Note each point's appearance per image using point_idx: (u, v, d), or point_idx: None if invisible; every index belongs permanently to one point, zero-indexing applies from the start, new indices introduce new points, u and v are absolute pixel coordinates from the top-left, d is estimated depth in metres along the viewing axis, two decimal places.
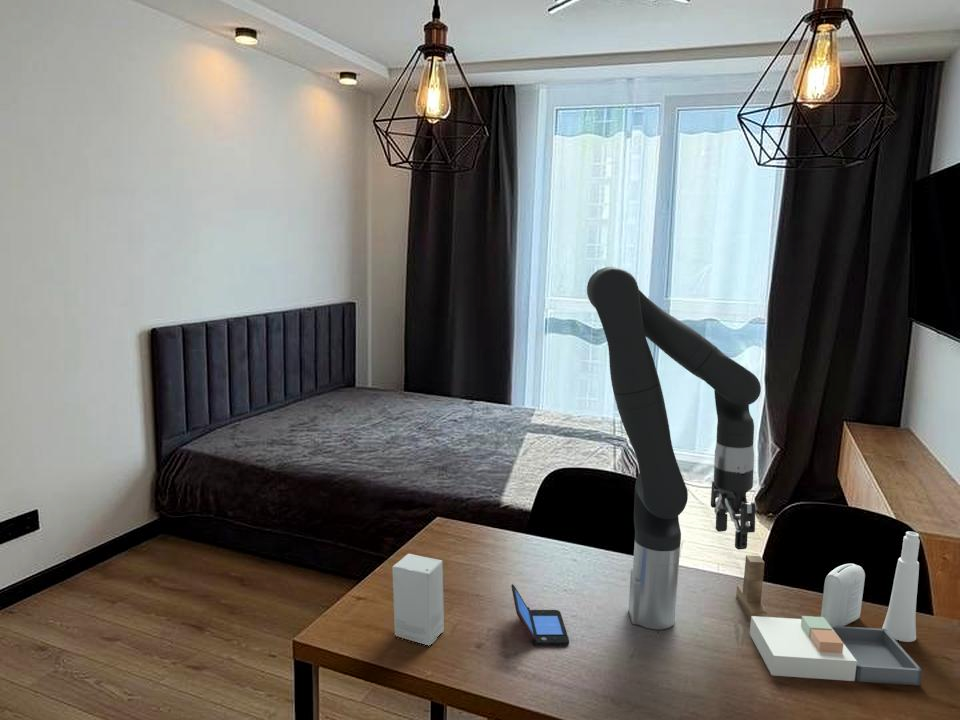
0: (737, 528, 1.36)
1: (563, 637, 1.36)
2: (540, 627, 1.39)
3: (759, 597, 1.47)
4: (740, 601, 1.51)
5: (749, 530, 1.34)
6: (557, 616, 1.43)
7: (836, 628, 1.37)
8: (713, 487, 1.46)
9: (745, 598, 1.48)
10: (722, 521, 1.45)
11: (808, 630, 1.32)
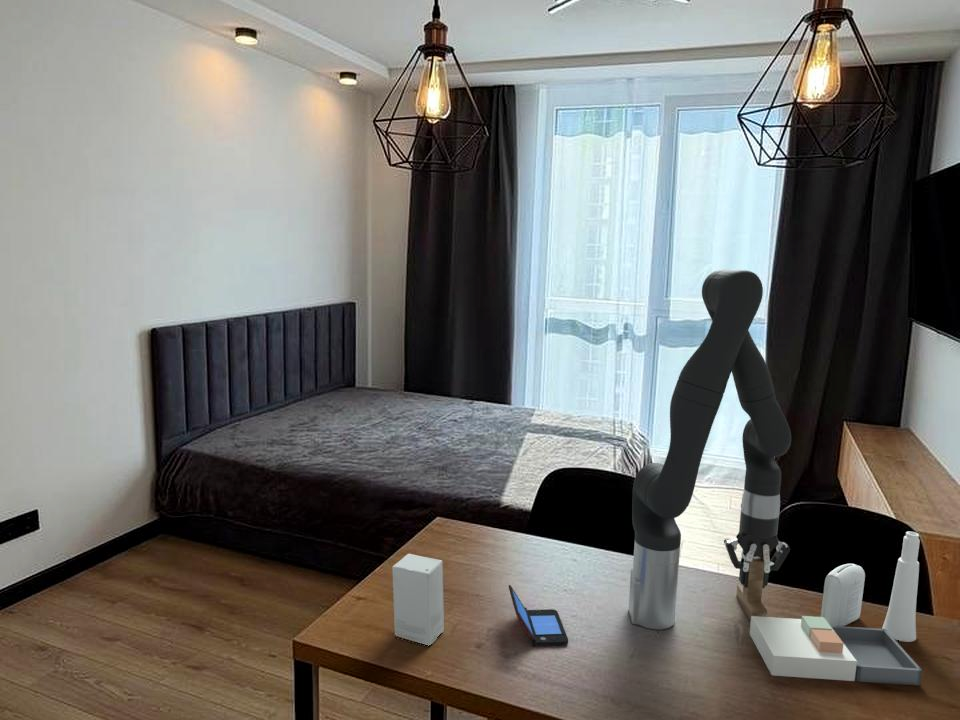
0: (768, 570, 1.46)
1: (562, 636, 1.36)
2: (538, 627, 1.39)
3: (759, 597, 1.47)
4: (740, 601, 1.51)
5: None
6: (554, 615, 1.43)
7: (836, 628, 1.37)
8: (731, 548, 1.46)
9: (745, 597, 1.48)
10: None
11: (808, 630, 1.32)
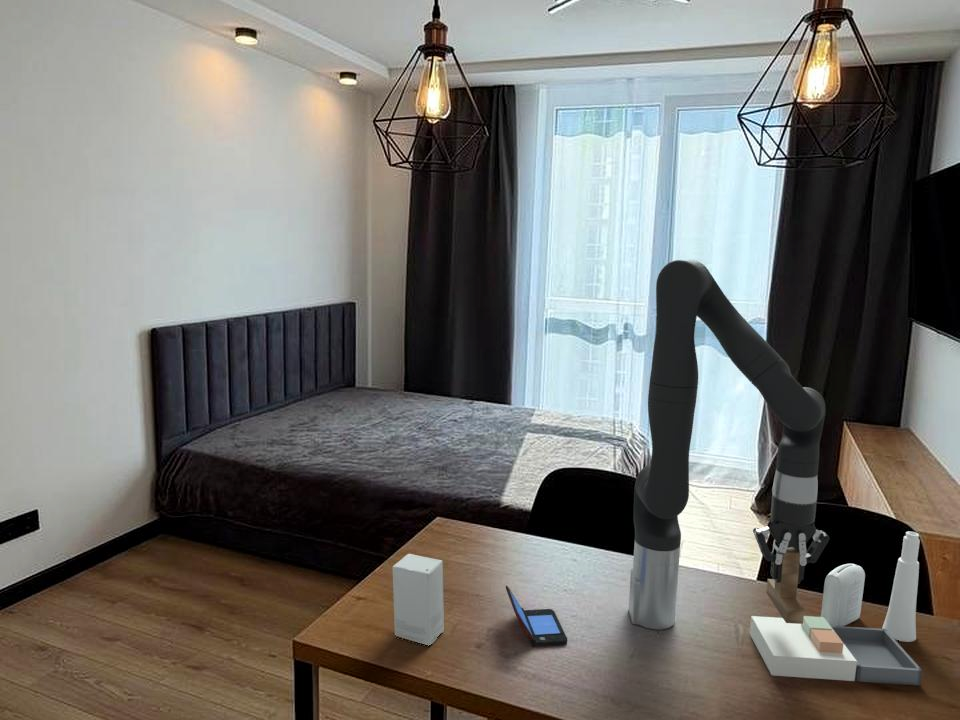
0: (804, 562, 1.28)
1: (561, 636, 1.36)
2: (537, 627, 1.39)
3: (794, 593, 1.29)
4: (772, 597, 1.33)
5: None
6: (552, 615, 1.43)
7: (836, 628, 1.37)
8: (762, 538, 1.28)
9: (778, 593, 1.30)
10: None
11: (808, 630, 1.32)
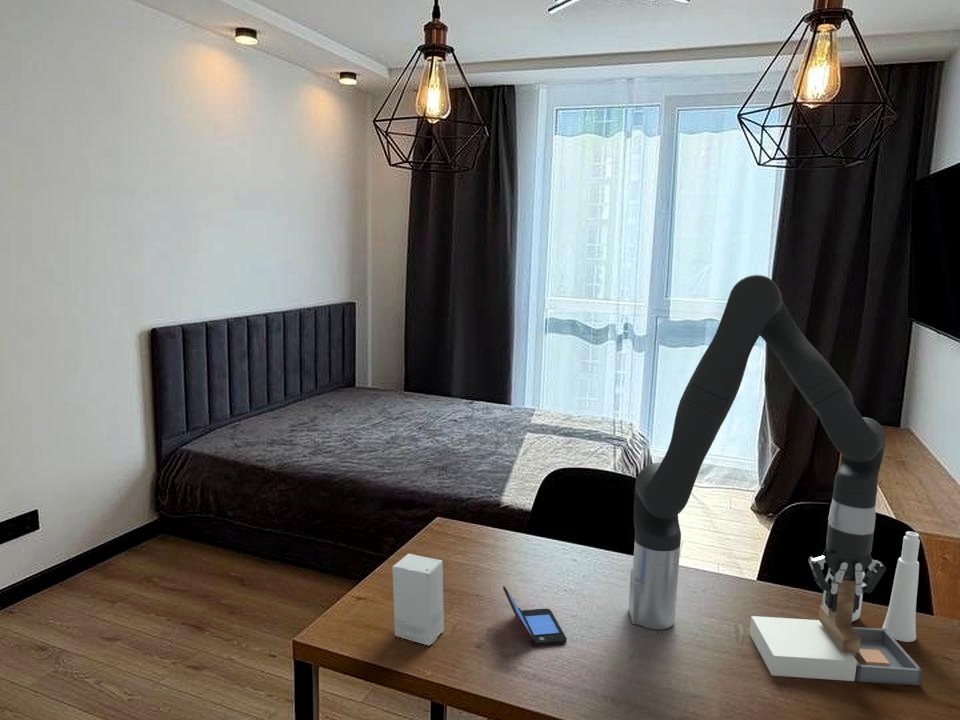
0: (860, 592, 1.28)
1: (560, 635, 1.36)
2: (535, 627, 1.39)
3: (849, 621, 1.29)
4: (825, 625, 1.33)
5: None
6: (549, 615, 1.44)
7: None
8: (818, 568, 1.28)
9: (832, 621, 1.30)
10: None
11: None
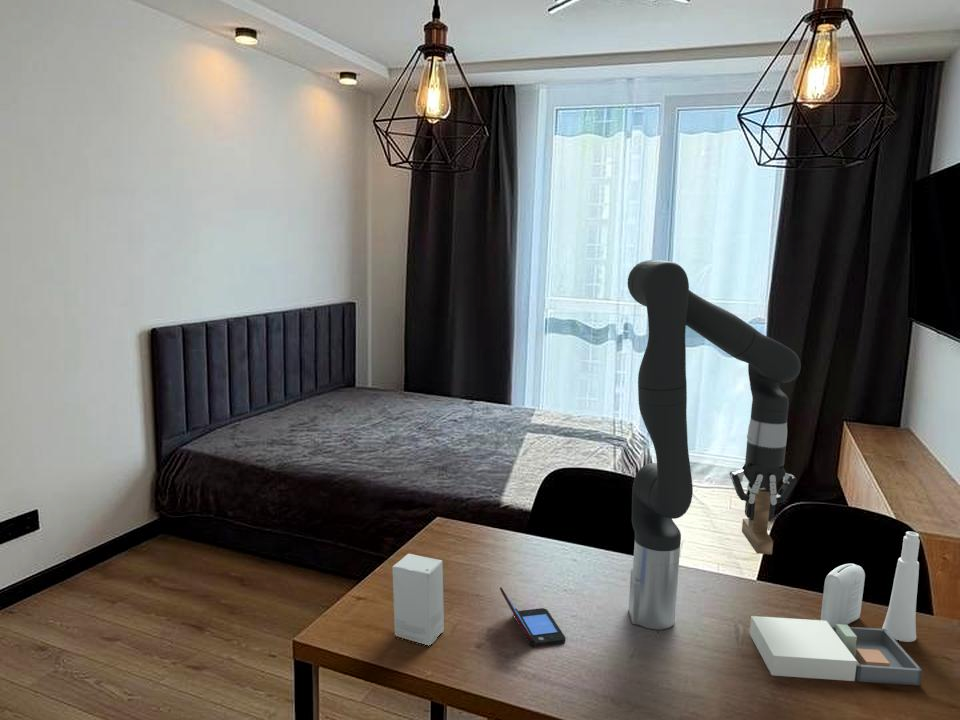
0: (775, 501, 1.43)
1: (559, 634, 1.36)
2: (533, 627, 1.39)
3: (765, 528, 1.44)
4: (746, 534, 1.49)
5: None
6: (546, 614, 1.44)
7: None
8: (737, 480, 1.43)
9: (751, 529, 1.46)
10: None
11: (850, 634, 1.32)
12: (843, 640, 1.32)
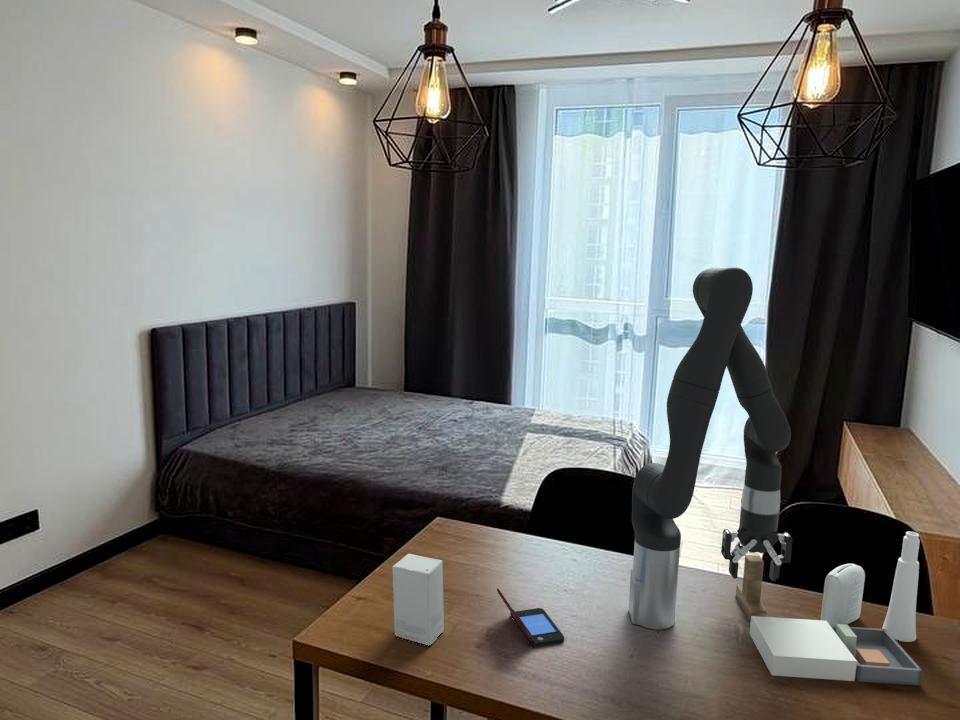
0: (779, 561, 1.45)
1: (557, 634, 1.37)
2: (532, 627, 1.39)
3: (758, 596, 1.47)
4: (739, 601, 1.51)
5: None
6: (543, 614, 1.44)
7: None
8: (729, 539, 1.45)
9: (744, 597, 1.48)
10: None
11: (850, 634, 1.32)
12: (843, 640, 1.32)
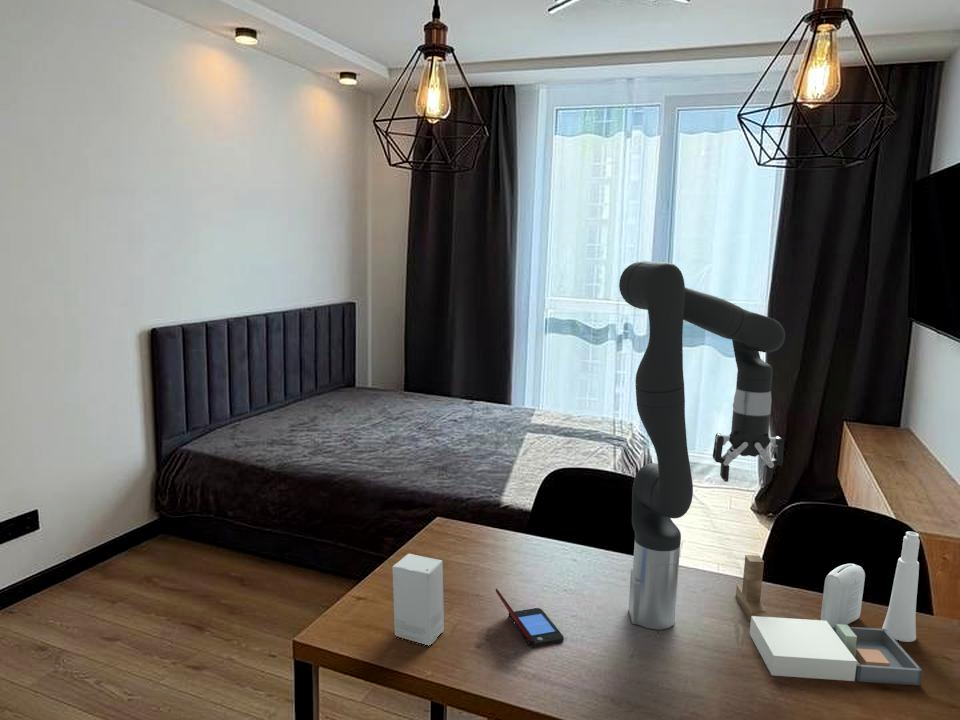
0: (772, 464, 1.48)
1: (557, 634, 1.37)
2: (531, 627, 1.39)
3: (758, 596, 1.47)
4: (739, 601, 1.51)
5: None
6: (541, 614, 1.44)
7: None
8: (721, 441, 1.48)
9: (744, 597, 1.48)
10: None
11: (850, 634, 1.32)
12: (843, 640, 1.32)
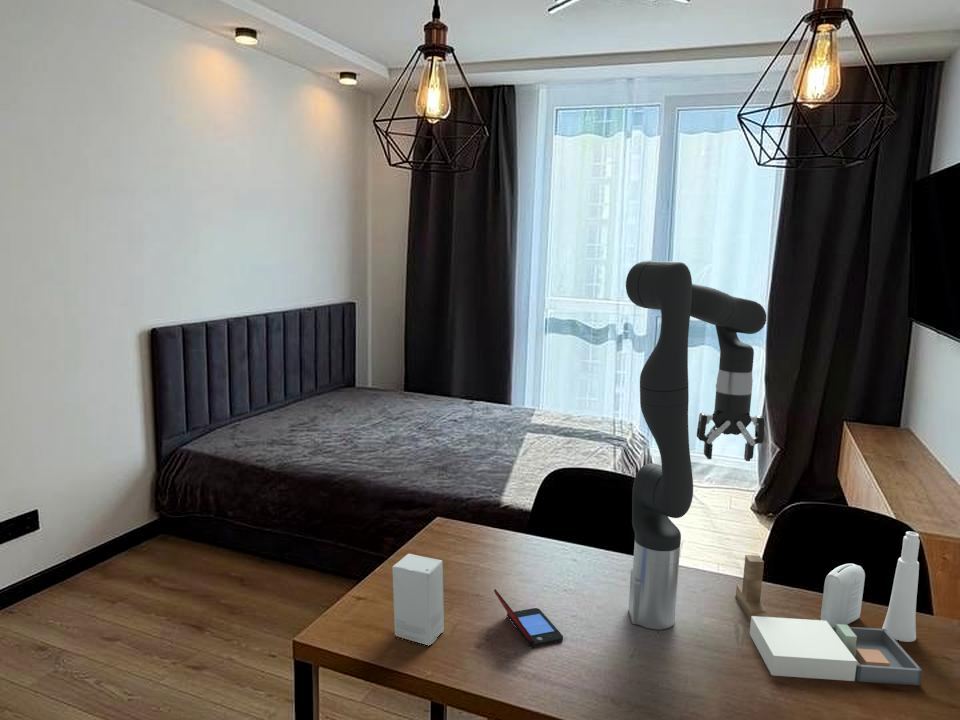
0: (753, 442, 1.54)
1: (556, 633, 1.37)
2: (530, 628, 1.39)
3: (758, 596, 1.47)
4: (739, 600, 1.51)
5: None
6: (540, 614, 1.44)
7: None
8: (704, 420, 1.54)
9: (744, 597, 1.48)
10: None
11: (850, 634, 1.32)
12: (843, 640, 1.32)
